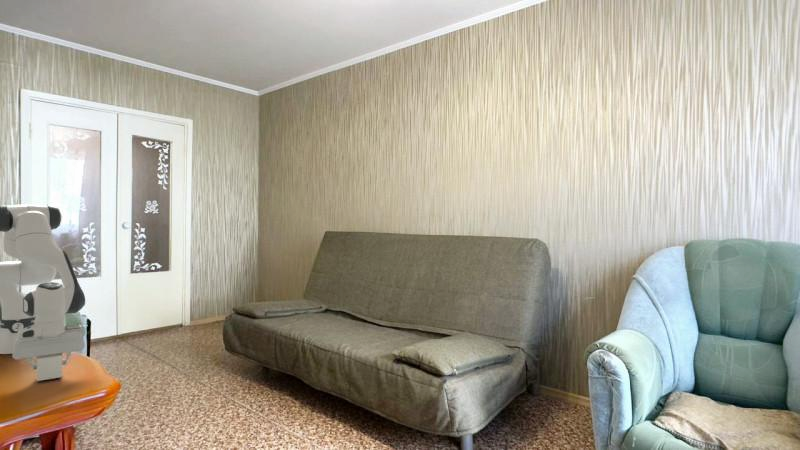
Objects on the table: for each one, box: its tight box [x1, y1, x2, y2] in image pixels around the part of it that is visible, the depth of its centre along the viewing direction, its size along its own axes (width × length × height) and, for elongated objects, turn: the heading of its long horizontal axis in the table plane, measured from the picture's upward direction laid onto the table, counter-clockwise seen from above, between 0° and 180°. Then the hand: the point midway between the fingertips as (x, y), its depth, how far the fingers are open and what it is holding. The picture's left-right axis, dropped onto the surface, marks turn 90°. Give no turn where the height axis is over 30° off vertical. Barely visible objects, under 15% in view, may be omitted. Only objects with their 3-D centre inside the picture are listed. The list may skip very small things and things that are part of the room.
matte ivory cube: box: [36, 353, 63, 382], centre depth 158 cm, size 7×7×8 cm
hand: (49, 366), depth 157 cm, fingers closed on matte ivory cube, 7 cm apart
